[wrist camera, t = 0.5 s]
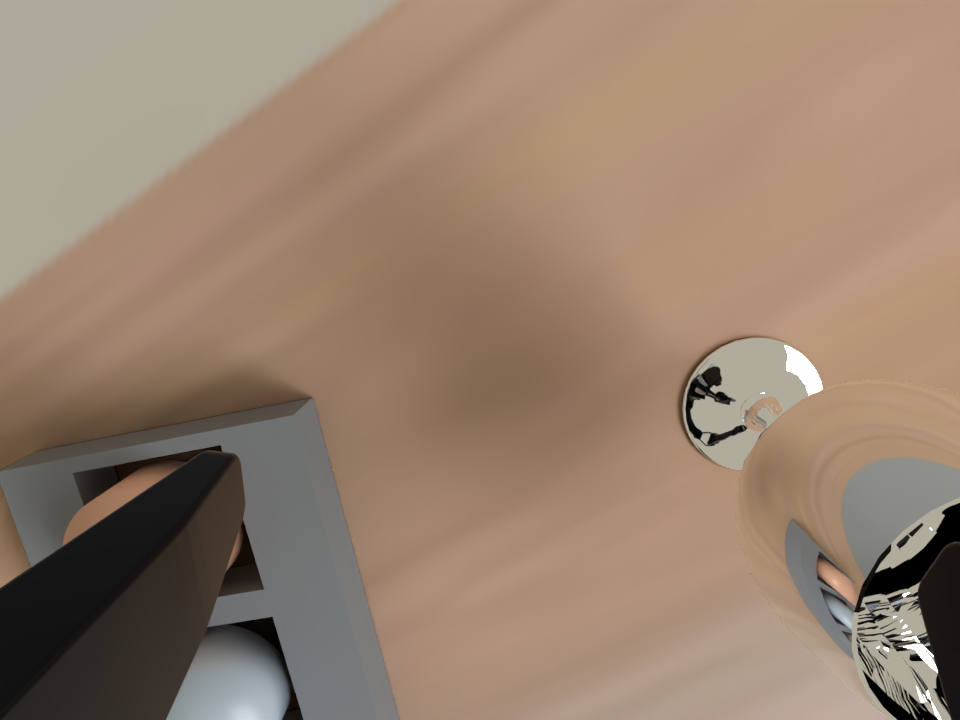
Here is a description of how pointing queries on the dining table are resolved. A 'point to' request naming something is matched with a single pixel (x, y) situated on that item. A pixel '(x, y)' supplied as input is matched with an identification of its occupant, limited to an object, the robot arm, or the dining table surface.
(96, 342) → the dining table surface
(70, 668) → the robot arm
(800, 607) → the wineglass
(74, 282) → the dining table surface
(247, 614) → the button panel
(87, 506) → the terracotta button
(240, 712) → the slate button
